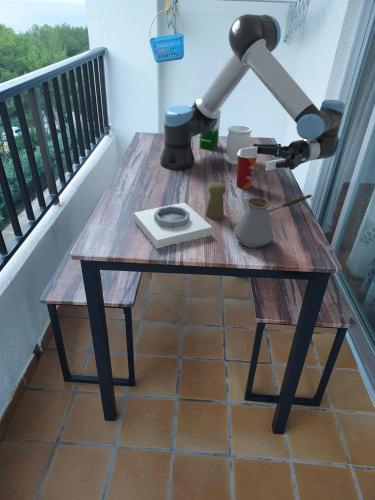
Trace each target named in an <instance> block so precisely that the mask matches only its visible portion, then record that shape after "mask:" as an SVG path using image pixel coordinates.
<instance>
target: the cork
mask: <svg viewBox="0 0 375 500" xmlns="http://www.w3.org/2000/svg"><path fill="white" fill-rule="evenodd" d="M208 192H209V198H208V203H207V208H206V212H205V216H206V217H207V218H208V217H209V219H211V220H221V219H223V218H224V216H225V213H224V194H225V192H226V186H225V184H223V183H221V182H213V183H211V184H210V185H209V187H208Z"/></svg>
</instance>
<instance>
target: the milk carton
mask: <svg viewBox="0 0 375 500" xmlns="http://www.w3.org/2000/svg"><path fill="white" fill-rule="evenodd" d="M221 113H222V109H221V108H220V109H219V116H218V118H217V119H218V122H217V124H216V126H215V128H214V129H212V130H211V131H209V132H207V133H203V134H199V148H200V149H203V148H204V150H209V149H210V150H211V151H214V150H213V149H214V148H215V149H216V148H217V147H218V143H219V136H220V135H219V134H220V122H221Z"/></svg>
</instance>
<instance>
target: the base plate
mask: <svg viewBox="0 0 375 500" xmlns="http://www.w3.org/2000/svg"><path fill="white" fill-rule="evenodd" d="M133 221H134V222H135V224H136V225H137V226H138V228H139V229H140V230H141V232H143V234H144V235H145V236H146V238H148V240H149V241H150V242H151V244H152V245H153V246H154V248H155V249H156V250H159V249H158V248H160V249H162V248H161V247H164V248H166V247H165V246H168V247H170V246H169V245H172V244H176V245H178V244H177V243H180V244H182V243H181V242H184V243H186V242H185V241H187V242H190V241H189V240H191V241H194V240H193V239H195V240H197V239H196V238H199V239H201V238H200V237H203V238H205V237H204V236H207V237H210V236H209V235H211V236H212V233H213V226H212V225H210V223H208V222H207V221H206V220H205V219H204V218H203V217H202V216H200V215H199V213H197V212H196V211H195V210H194V209H193V208H191V207H190V206H189V205H188V204H187V203H185V202H180V203H175V204H170V205H165V206H161V207H156V208H155V207H154V208H150V209H145V210H140V211H136V212H133ZM172 246H173V245H172Z"/></svg>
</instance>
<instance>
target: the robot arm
mask: <svg viewBox="0 0 375 500" xmlns="http://www.w3.org/2000/svg"><path fill="white" fill-rule="evenodd" d="M281 30H282V29H281V25H280V23H279V21H278V20H277V19H276V18H275V17H274V16H273V15H268V14H263V13H262V14H249V13H248V14H247V13H246V14H242V15H240V16H239V17H237V18H236V19H235V20H234V21H233V23H232V24H231V26H230V28H229V32H228V43H229V46H230V49H231V50H232V53H231V54H230V56H229V58H228V59H227V60H226V61H225V63H224V65H223V67H222V68H221V69H220V71H219V72H218V74H217V75H216V76H215V78H214V79H213V81H212V83H211V84H210V86H209V87H208V88H207V90H206V92H205V93H204V94H203V96H200V97H198V98H197V99H196V100H195V101H194V103H193V104H192V106H189V105H182V104H181V105H180V104H179V105H173V106H171V107H169V108H167V109H166V110H165V111H164V118H163V127H164V130H163V131H164V133H163V134H164V136H163V137H164V146H163V150H162V153H161V156H160V166H162V167H164V168H167V169H171V170H186V169H187V170H188V169H191V168H193V167H194V166H195V164H196V163H195V162H196V159H195V156H194V152H193V148H192V142H193V141H192V139H193V137H196V136H200V134H203V133H207V132H209V131H211V130H212V129H214V128H215V126H216V124H217V122H218V119H217V118H218V116H219V109H221V108H222V106H223V105H224V104H225V102H226V101H227V100H228V98H229V97H230V96H231V94H232V93H233V91H234V90H235V89H236V87H237V86H238V85H239V84H240V82H241V81H242V79H243V78H244V77H245V75H246V74H247V73H248V71H249V70H250V69H251V71H252V72H253V73H254V74H255V76H256V77H257V78H258V80H260V81H261V83H262V84H263V85H264V87H266V89H267V90H268V91H269V92H270V93H271V95H272V96H273V97H274V99H276V101H277V102H278V103H279V105H281V107H282V108H283V110H285V112H286V113H287V114H288V115H289V116H290V118H291V119H292V120H293V121H294V122H295V124H296V133H297V135H298V136H299V137H300V138H301V139H299V140H293V141H291V142H290V143H289V144H288V145H283V146H282V144H281V143H267V144H266V143H254V144H252V145H253V146H250V147H249V148H243V149H241V151H240V157H247V156H253V155H255V156H256V155H257V154H258V155H266V156H267V155H268V156H274V157H275V158H278V159H273V160H268V161H266V162H265V169H264V170H265V171H266V172H267V171H272V170H278V169H283V168H284V169H288V168H289V170H290V171H292V170H294V169H296V168H297V167H299V166H300V165H302V164H305V163H309V162H311V161H316V160H323V159H329V158H331V157H335V156H337V155H339V153H340V152H341V150H342V148H343V147H342V139H341V138H340V137H339V136H338V135H339V132H340V127H341V123H342V121H343V120H342V119H343V116H344V114H345V108H346V107H345V106H346V103H345V102H344V101H341V100H338V99H324V100H323V101H321V106H320V107H319V108H318V107H317V106H316V105H315V104H314V102H313V100H311V99H310V98H309V96H308V95H307V93H305V91H303V89H302V88H301V87H300V85H299V84H298V83H297V82H296V80H294V78H293V77H292V76H291V74H289V73H288V71H287V70H286V69H285V67H283V65H282V64H281V63H280V62H279V61H278V59H277V58H276V57H275V56H274V55H273V53H272V52H274V50H276V49H277V47H278V46H279V44H280V41H281V37H282V34H281V32H282V31H281ZM279 158H280V159H279Z"/></svg>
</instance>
